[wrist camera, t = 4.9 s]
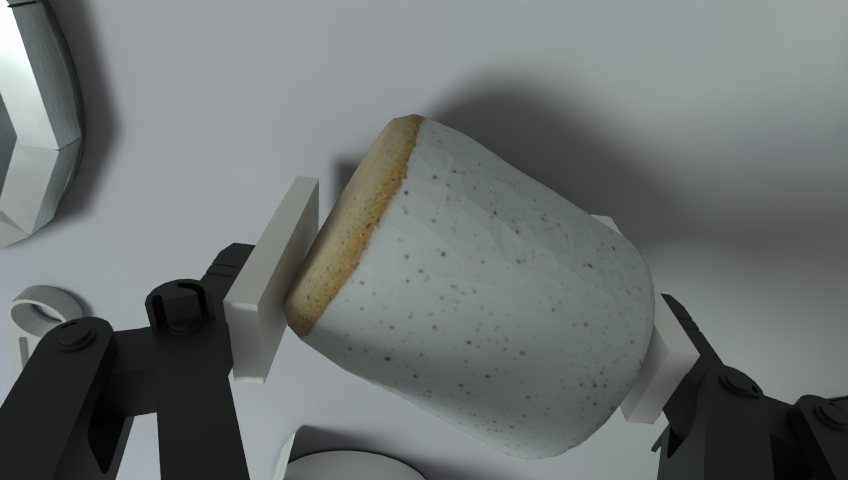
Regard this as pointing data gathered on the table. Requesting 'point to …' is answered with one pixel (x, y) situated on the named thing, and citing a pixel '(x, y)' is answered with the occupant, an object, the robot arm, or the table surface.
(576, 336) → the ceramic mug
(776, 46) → the table surface
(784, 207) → the table surface
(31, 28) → the flange seat
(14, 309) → the adjustable wrench
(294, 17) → the table surface
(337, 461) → the toilet tissue
